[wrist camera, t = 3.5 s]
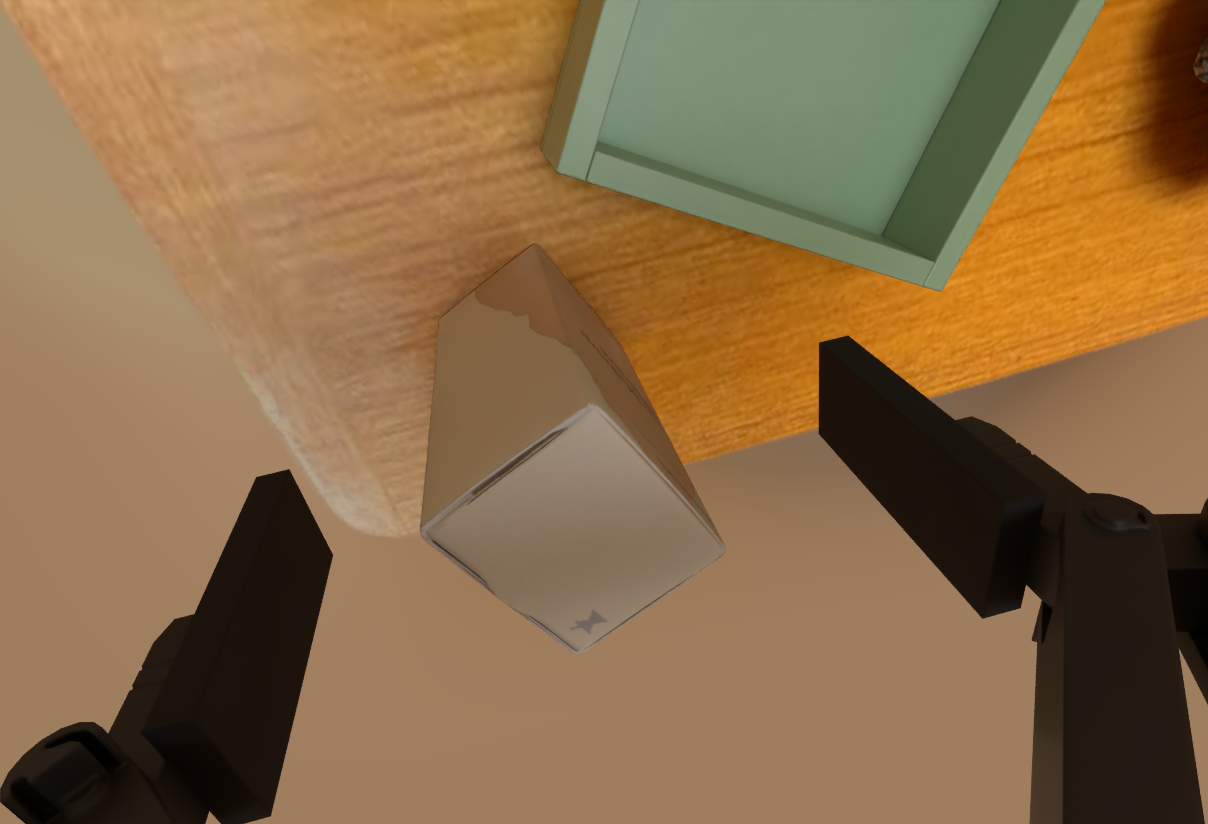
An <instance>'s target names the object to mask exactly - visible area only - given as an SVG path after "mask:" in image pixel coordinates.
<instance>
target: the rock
mask: <svg viewBox="0 0 1208 824" xmlns="http://www.w3.org/2000/svg"><path fill="white" fill-rule="evenodd" d="M1193 68H1194V71H1195V75H1196V77H1198V78H1199V79H1200V80H1201V81H1202V82H1204V83H1207V84H1208V37H1207V38H1206V40H1205V41H1204V42H1203V44H1202V45H1201V47H1200V50H1199V53H1198V56H1197V58H1196V60H1195V62H1194V65H1193Z"/></svg>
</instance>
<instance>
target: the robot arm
mask: <svg viewBox="0 0 1208 824" xmlns="http://www.w3.org/2000/svg"><path fill="white" fill-rule="evenodd" d="M819 435H820V436H821V437H822V438H823V439H824V440H825V441H826V442H827V444H828V445H829V446H830V447H831V448H832V449H833V450H834V451H835V453H836V454H837V455H838V456H839V457H840V458H841V459H842V461H843V462H844V463H845V464H846V465H847V466H848V467H849V468H850V470H851V471H852V472H853V473H854V474H855V475H856V476H857V478H858V479H859V480H860V481H861V482H862V483H863V484H864V485H865V487H866V488H867V489H868V490H869V491H870V492H871V493H872V494H873V496H875V498H876V499H877V500H878V501H879V502H880V503H881V505H882V506H883V507H884V508H885V509H886V510H887V511H888V513H889V514H890V515H891V516H892V517H893V518H894V519H895V520H896V522H897V523H898V524H899V525H900V526H901V527H902V528H903V529H904V531H905V532H906V533H907V534H908V535H909V536H910V537H911V538H912V540H914V542H915V543H916V544H917V545H918V546H919V547H920V548H921V550H922V551H923V552H924V553H925V554H926V555H927V557H928V558H929V559H930V560H931V561H932V562H933V563H934V564H935V566H936V567H937V568H938V569H939V570H940V571H941V572H942V573H943V575H944V576H945V577H946V578H947V579H948V580H949V581H950V582H951V584H952V585H953V586H954V587H955V588H956V589H957V590H958V591H959V593H960V594H961V595H962V596H963V597H964V598H965V599H966V600H967V602H968V603H969V604H970V605H971V606H972V607H973V608H974V610H976V612H977V613H978V614H979V615H980V616H981V617H982V619H983V618H986V617H990V616H994V615H997V614H1001V613H1005V612H1008V611H1012V610H1016V609H1019V608H1021V604H1022V600H1023V596H1024V591H1025V587H1026V585H1027V586H1028V587H1029V588H1030V589H1031V590H1032V591H1033V592H1034V593H1035V594H1036V595H1037V596H1039V598H1040V599H1041V600H1042V601H1041V606H1040V609H1039V613H1038V617H1037V621H1036V625H1035V629H1034V633H1033V637H1032V641H1035V642H1037V665H1036V686H1035V709H1034V733H1033V756H1032V780H1031V781H1032V782H1031V805H1030V824H1205V823H1204V815H1203V809H1202V802H1201V796H1200V789H1199V782H1198V775H1197V769H1196V762H1195V756H1194V748H1193V741H1192V735H1191V729H1190V721H1189V715H1188V708H1187V701H1186V695H1185V688H1184V681H1183V674H1182V668H1181V661H1180V654H1179V649H1180V651H1181V653H1182V655H1183V657H1184V659H1185V660H1186V663H1187V665H1188V666H1189V668H1190V670H1191V672H1192V674H1193V676H1194V678H1195V680H1196V682H1197V684H1198V686H1199V688H1200V690H1201V692H1202V694H1203V696H1204V698H1205V700H1206V702H1207V704H1208V499H1207V500H1206V502H1205V504H1204V506H1203V509H1202V511H1201V514H1152V513H1151V512H1150V511H1149V510H1147V509H1146V508H1145V507H1144V506H1142V505H1140V504H1138V503H1136V502H1133V501H1131V500H1129V499H1127V498H1123V497H1119V496H1116V495H1111V494H1101V493H1089V494H1087V493H1086V492H1085V491H1083V490H1082V489H1081V488H1079V487H1078V486H1077V485H1075V484H1074V483H1073V482H1071V481H1070V480H1069V479H1067V478H1066V477H1064V476H1063V475H1062V474H1060V473H1059V472H1058V471H1056V470H1055V469H1053V468H1052V467H1051V466H1050V465H1048V464H1047V463H1046V462H1044V461H1043V460H1041V459H1040V458H1039V457H1037V456H1036V455H1035V454H1034V455H1032V454H1031V451H1029V450H1028V449H1027V448H1025V447H1024V446H1023V445H1021V444H1020V443H1016V441H1015V439H1013V438H1012V437H1011V436H1009V435H1008V434H1006V433H1005V432H1004V431H1002V430H1001V429H1000V428H998V427H997V426H995V425H992V424H990V423H987V422H984V421H982V420H979V419H977V418H974V417H967V418H963V419H959V420H954V419H953V418H952V417H950V416H949V415H948V414H946V413H945V412H944V411H943V410H941V409H940V408H939V407H938V406H936V405H935V404H934V403H932V402H931V401H930V400H929V399H928V398H926V397H925V396H924V395H923V394H921V393H920V392H919V391H917V390H916V389H915V388H914V387H912V386H911V385H910V384H909V383H907V382H906V381H905V380H904V379H902V378H901V377H900V376H899V375H897V374H896V373H895V372H893V371H892V370H891V369H890V368H888V367H887V366H886V365H885V364H883V363H882V362H881V361H880V360H878V359H877V358H876V357H874V356H873V355H872V354H871V353H869V352H868V351H867V350H866V349H864V348H863V347H862V346H861V345H859V344H858V343H857V342H856V341H854V340H853V339H852V338H850V337H849V336H845V337H841V338H836V339H832V340H828V341H824V342H820V343H819ZM332 557H333V554H332V552H331V550H330V548H329V546H328V544H327V542H326V540H325V538H324V536H323V534H322V532H321V531H320V529H319V527H318V525H317V523H316V521H315V519H314V517H313V515H312V513H311V511H310V509H309V507H308V505H307V503H306V501H305V499H304V497H303V495H302V493H301V491H300V489H299V487H298V485H297V484H296V482H295V480H294V478H293V476H292V474H291V472H290V470H289V469H288V470H285V471H280V472H276V473H272V474H267V475H263V476H259V477H256V479H255V481H254V483H253V486H252V488H251V490H250V492H249V494H248V497H247V499H246V501H245V503H244V505H243V508H242V510H241V512H240V514H239V517H238V519H237V522H236V523H235V526H234V528H233V530H232V532H231V534H230V537H229V539H228V541H227V543H226V545H225V548H224V550H223V552H222V554H221V557H220V559H219V561H218V563H217V566H216V568H215V570H214V572H213V574H212V577H211V579H210V581H209V583H208V585H207V587H206V590H205V592H204V594H203V596H202V599H201V601H200V603H199V605H198V607H197V610H196V612H195V614H193V615H189V616H186V617H181V618H178V619H174V620H173V622H172V623H171V624H170V625H169V626H168V627H167V628H166V629H165V630H164V632H163V633H162V634H161V635H160V636H159V637H158V638H157V640H156V641H155V642H154V643H153V645H152V647H151V649H150V651H149V653H148V655H147V657H146V659H145V661H144V663H143V665H142V670H141V671H139V673H138V675H137V677H136V679H135V681H134V683H133V685H132V686H133V690H130V691H129V693H128V695H127V697H126V699H125V701H124V704H123V705H122V707H121V709H120V711H119V713H118V715H117V717H116V719H115V721H114V723H113V725H112V727H111V729H110V731H109V733H107V732H106V731H105V730H104V729H103V728H102V727H100V726H99V725H97V724H96V723H94V722H79V723H76V724H73V725H70V726H67V727H64V728H61V729H59V730H58V731H56V732H54V733H53V734H51V735H49V736H47V737H46V738H44V739H42V740H41V741H40V742H38V743H37V744H36V745H35V746H34V747H33V748H31V749H30V750H29V751H28V752H26V753H25V754H24V755H23V756H22V757H21V758H20V760H19V761H18V762H17V763H16V764H15V765H14V767H13V768H12V769H11V770H10V771H9V773H8V774H7V777H6V779H5V781H4V783H3V785H2V787H1V789H0V802H1V803H2V804H3V805H4V806H5V807H6V808H8V809H9V810H10V811H11V812H12V813H13V814H15V815H16V816H17V817H18V818H20V819H21V820H22V821H23V822H24V823H25V824H205V823H206V820H207V817H208V814H209V811H210V812H211V813H212V814H213V815H214V816H215V817H216V819H217V820H218V821H219V822H220V823H221V824H245V823H248V822H252V821H255V820H259V819H263V818H266V817H270V816H271V813H272V809H273V804H274V800H275V796H276V792H277V788H278V783H279V780H280V775H281V771H282V767H283V762H284V758H285V754H286V750H287V746H288V742H289V738H290V733H291V729H292V725H293V721H294V716H295V713H296V708H297V704H298V700H299V696H300V692H301V687H302V683H303V679H304V675H305V671H306V666H307V662H308V658H309V654H310V650H311V645H312V641H313V637H314V633H315V629H316V624H317V620H318V616H319V612H320V608H321V604H322V599H323V595H324V591H325V587H326V583H327V579H328V574H329V570H330V565H331V561H332ZM1178 647H1179V648H1178Z"/></svg>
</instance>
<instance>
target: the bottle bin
mask: <svg viewBox="0 0 1208 824" xmlns="http://www.w3.org/2000/svg"><path fill="white" fill-rule="evenodd" d="M1105 1H1106V0H580V1H579V4H578V8H577V12H576V16H575V19H574V23H573V27H572V31H571V34H570V38H569V42H568V46H567V49H566V53H565V57H564V61H563V64H562V68H561V72H560V76H559V79H558V83H557V87H556V91H555V94H554V98H553V102H552V106H551V109H550V113H549V117H548V121H547V124H546V128H545V132H544V136H543V139H542V143H541V147H540V150H541V151H542V153H543V154H544V156H545V157H546V158H547V160H548V161H549V162H550V164H551V165H552V167H553V168H554V169H555V171H556V172H557V173H559V174H562V175H565V176H569V177H572V178H575V179H578V180H582V181H586V182H588V183H591V184H594V185H597V186H601V187H604V188H607V189H610V190H613V191H617V192H620V193H623V194H626V195H630V196H633V197H636V198H639V199H642V200H646V201H649V202H652V203H655V204H658V205H662V206H665V207H668V208H671V209H674V210H678V211H681V212H684V213H687V214H691V215H694V216H697V217H700V218H703V219H707V220H710V221H713V222H716V223H719V224H723V225H726V226H729V227H732V228H736V229H739V230H742V231H745V232H748V233H752V234H755V235H758V236H761V237H764V238H768V239H771V240H774V241H777V242H781V243H784V244H787V245H790V246H793V247H797V248H800V249H803V250H806V251H809V252H813V253H816V254H819V255H822V256H825V257H829V258H832V259H835V260H838V261H842V262H845V263H848V264H851V265H854V266H858V267H861V268H864V269H867V270H870V271H874V272H877V273H880V274H883V275H887V276H890V277H893V278H896V279H899V280H903V281H906V282H909V283H912V284H915V285H919V286H922V287H925V288H929V289H932V290H935V291H938V292H940V291H942V290H943V288H944V287H945V285H946V283H947V281H948V279H949V278H950V276H951V274H952V272H953V271H954V269H955V267H956V265H957V264H958V262H959V260H960V258H961V256H962V255H963V253H964V251H965V249H966V248H967V246H968V244H969V242H970V240H971V239H972V237H973V235H974V233H975V232H976V230H977V228H978V226H979V225H980V223H981V221H982V219H983V217H984V216H985V214H986V212H987V210H988V209H989V207H990V205H991V203H992V202H993V200H994V198H995V196H996V194H997V193H998V191H999V189H1000V187H1001V186H1002V184H1003V182H1004V180H1005V179H1006V177H1007V175H1008V173H1009V171H1010V170H1011V168H1012V166H1013V164H1014V163H1015V161H1016V159H1017V157H1018V156H1019V154H1020V152H1021V150H1022V148H1023V147H1024V145H1025V143H1026V141H1027V140H1028V138H1029V136H1030V134H1031V132H1032V131H1033V129H1034V127H1035V125H1036V124H1037V122H1038V120H1039V118H1040V117H1041V115H1042V113H1043V111H1044V109H1045V108H1046V106H1047V104H1048V102H1049V101H1050V99H1051V97H1052V95H1053V94H1054V92H1055V90H1056V88H1057V86H1058V85H1059V83H1060V81H1061V79H1062V78H1063V76H1064V74H1065V72H1066V71H1067V69H1068V67H1069V65H1070V63H1071V62H1072V60H1073V58H1074V56H1075V55H1076V53H1077V51H1078V49H1079V48H1080V46H1081V44H1082V42H1083V40H1084V39H1085V37H1086V35H1087V33H1088V32H1089V30H1090V28H1091V26H1092V24H1093V23H1094V21H1095V19H1096V17H1097V16H1098V14H1099V12H1100V10H1101V9H1102V7H1103V5H1104V3H1105Z"/></svg>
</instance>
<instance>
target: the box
mask: <svg viewBox="0 0 1208 824" xmlns="http://www.w3.org/2000/svg"><path fill="white" fill-rule="evenodd" d="M420 532H421V535H422V537H423V539H424V540H425V541H426V542H427V543H428V544H429V545H431V546H432V547H433V548H435V549H436V550H437V551H439V552H440V553H441V554H443V555H444V556H445V557H446V558H448V559H449V560H450V561H451V562H453V563H454V564H455V565H456V566H458V567H459V568H460V569H461V570H463V571H464V572H465V573H467V574H468V575H469V576H470V577H472V578H473V579H474V580H476V581H477V582H478V583H479V584H481V585H482V586H483V587H485V588H486V589H487V590H488V591H490V592H491V593H492V594H494V595H495V596H496V597H498V598H499V599H500V600H501V601H503V602H504V603H505V604H507V605H508V606H509V607H511V608H512V609H513V610H515V611H516V612H518V613H519V614H520V615H522V616H523V617H524V618H526V619H527V620H528V621H530V622H531V623H533V624H534V625H535V626H537V627H538V628H539V629H541V630H542V631H543V632H545V633H546V634H548V635H549V636H550V637H552V638H553V639H554V640H556V641H557V642H558V643H560V644H561V645H563V646H564V647H565V648H567V649H568V650H569V651H571V652H572V653H574V654H577V655H578V654H582V653H584V652H585V651H587V650H588V649H589V648H591V647H592V646H593V645H595V644H597V643H598V642H599V641H601V640H602V639H603V638H605V637H606V636H608V635H609V634H611V633H612V632H614V631H615V630H617V629H618V628H620V627H621V626H623V625H624V624H626V623H627V622H629V621H630V620H632V619H633V618H635V617H636V616H637V615H639V614H640V613H642V612H643V611H645V610H646V609H647V608H649V607H650V606H652V605H654V604H655V603H657V602H658V601H659V600H661V599H662V598H663V597H665V596H666V595H668V594H669V593H670V592H672V591H673V590H675V589H676V588H678V587H679V586H681V585H682V584H683V583H685V582H686V581H687V580H689V579H690V578H692V577H693V576H694V575H695V574H697V573H698V572H700V571H701V570H703V569H704V568H706V567H707V566H708V565H710V564H711V563H713V562H714V561H716V560H718V559H719V558H720V557H721V556H722V555H723V554H725V552H726V547H725V544H724V542H723V541H722V539H721V537H720V536H719V534H718V532H717V530H716V528H715V526H714V524H713V522H712V520H711V518H710V517H709V515H708V513H707V511H706V509H705V507H704V505H703V503H702V501H701V499H700V498H699V496H698V494H697V492H696V490H695V488H694V486H693V484H692V482H691V480H690V478H689V477H688V474H687V472H686V470H685V468H684V466H683V465H682V463H681V461H680V459H679V457H678V455H677V453H676V451H675V449H674V447H673V445H672V443H671V441H670V439H669V437H668V435H667V433H666V432H665V430H664V428H663V426H662V424H661V422H660V420H659V418H658V416H657V414H656V412H655V410H654V408H653V406H652V404H651V402H650V400H649V398H648V396H647V394H646V393H645V391H644V389H643V387H642V385H641V383H640V381H639V379H638V377H637V375H636V373H635V371H634V369H633V367H632V365H631V363H630V361H629V359H628V357H627V355H626V353H625V351H624V350H623V348H622V346H621V344H620V343H619V342H618V341H617V339H616V338H615V337H614V336H613V334H612V333H611V332H610V331H609V329H608V328H607V327H606V326H605V324H604V323H603V322H602V321H601V320H600V318H599V317H598V316H597V315H596V313H595V312H594V311H593V310H592V309H591V307H590V306H589V305H588V304H587V302H586V301H585V300H584V299H583V297H582V296H581V295H580V294H579V293H578V291H577V290H576V289H575V288H574V287H573V286H572V284H571V283H570V282H569V281H568V279H567V278H566V277H565V276H564V275H563V273H562V272H561V271H560V270H559V269H558V268H557V266H556V265H555V264H554V263H553V262H552V260H551V259H550V258H549V257H548V256H547V255H546V253H545V252H544V251H543V250H542V249H541V248H540V246H538V245H536V244H534V245H532V246H530V247H529V248H528V249H526V250H525V251H524V252H522V253H521V254H520V255H518V256H517V257H516V258H514V259H513V260H512V261H510V262H509V263H508V264H506V265H505V266H504V267H503V268H501V269H500V270H499V271H497V272H496V273H495V274H494V275H492V276H491V277H490V278H489V279H487V280H486V281H485V282H484V283H482V284H481V285H480V286H479V287H477V288H476V289H475V290H474V291H473V292H471V293H470V294H469V295H468V296H467V297H465V298H464V299H463V300H462V301H460V302H459V303H458V304H457V305H456V306H455V307H453V308H452V309H451V310H450V311H449V312H448V313H446V314H445V315H444V316H443V317H442V318H441V319H440V320H439V326H438V339H437V350H436V364H435V375H434V387H433V396H432V408H431V418H430V429H429V439H428V450H427V463H426V473H425V484H424V495H423V505H422V514H421V523H420Z"/></svg>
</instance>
